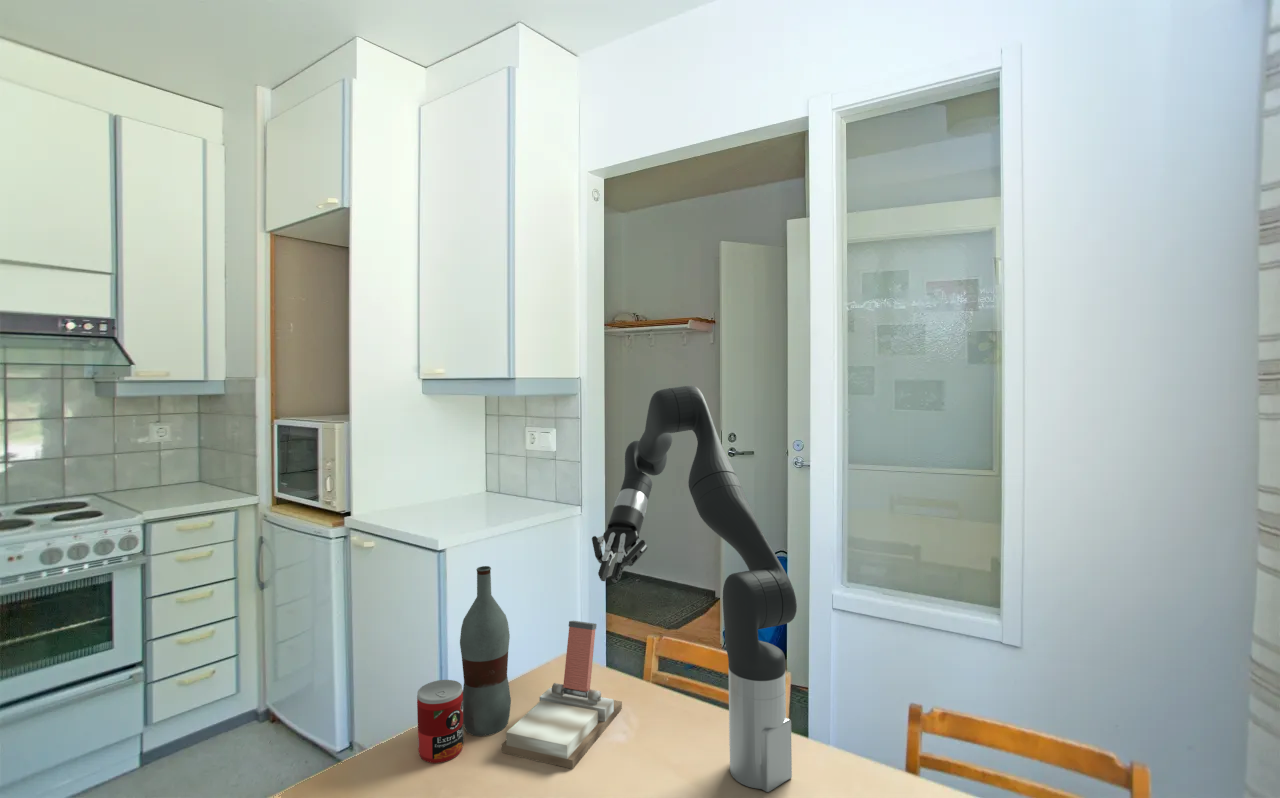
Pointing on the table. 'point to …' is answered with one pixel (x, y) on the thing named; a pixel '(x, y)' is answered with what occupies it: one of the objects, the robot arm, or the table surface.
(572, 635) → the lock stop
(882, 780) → the table surface
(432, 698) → the canned food
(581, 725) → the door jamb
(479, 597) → the bottle
